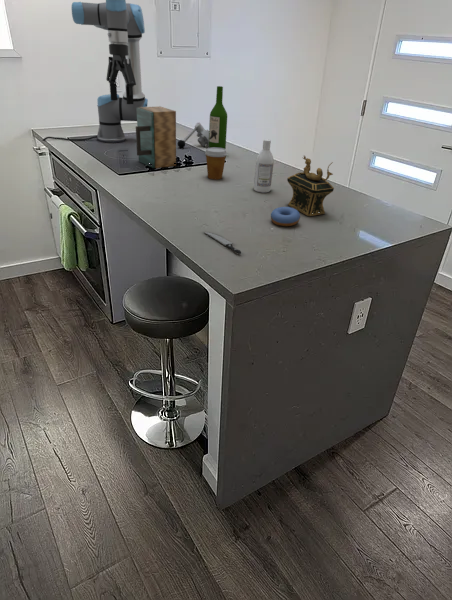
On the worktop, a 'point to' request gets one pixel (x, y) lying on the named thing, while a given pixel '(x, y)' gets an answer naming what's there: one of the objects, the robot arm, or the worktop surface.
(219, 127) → the wine bottle
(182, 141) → the mechanical valve
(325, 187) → the decorative box
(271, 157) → the bath foam
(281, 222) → the doughnut
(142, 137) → the door
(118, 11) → the robot arm
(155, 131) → the cabinet
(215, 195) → the worktop surface
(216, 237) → the chef's knife
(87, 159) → the worktop surface
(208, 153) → the disposable coffee cup
